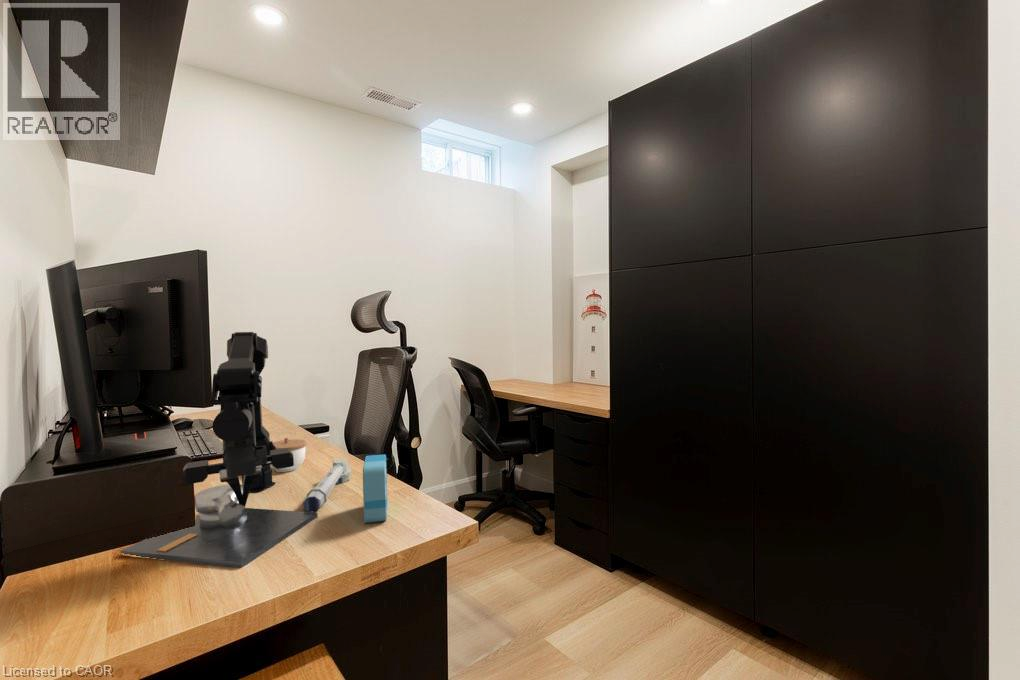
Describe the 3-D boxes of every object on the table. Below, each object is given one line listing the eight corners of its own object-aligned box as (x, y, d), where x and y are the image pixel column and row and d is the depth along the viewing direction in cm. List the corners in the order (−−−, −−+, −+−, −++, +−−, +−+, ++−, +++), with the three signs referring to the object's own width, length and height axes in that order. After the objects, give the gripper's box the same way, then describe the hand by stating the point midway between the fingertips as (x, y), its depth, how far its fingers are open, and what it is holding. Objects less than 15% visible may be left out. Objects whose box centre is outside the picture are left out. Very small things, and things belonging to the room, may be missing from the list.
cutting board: (120, 556, 87) (119, 534, 87) (217, 510, 109) (216, 493, 109) (241, 567, 82) (240, 545, 82) (317, 517, 103) (316, 499, 103)
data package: (386, 523, 100) (384, 467, 99) (364, 525, 99) (362, 469, 98) (387, 502, 111) (386, 452, 111) (367, 505, 110) (366, 454, 110)
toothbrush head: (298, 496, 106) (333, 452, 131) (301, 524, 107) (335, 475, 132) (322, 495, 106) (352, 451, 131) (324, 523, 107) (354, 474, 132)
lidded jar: (296, 474, 135) (295, 442, 134) (259, 475, 135) (258, 442, 135) (313, 463, 145) (312, 433, 145) (278, 464, 146) (277, 434, 145)
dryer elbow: (193, 508, 101) (192, 487, 101) (241, 498, 107) (240, 477, 106) (206, 535, 87) (205, 511, 87) (260, 522, 93) (259, 499, 93)
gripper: (177, 446, 81) (183, 534, 82) (295, 430, 91) (299, 509, 92) (182, 434, 91) (187, 513, 92) (288, 421, 101) (292, 492, 101)
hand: (242, 507), depth 94 cm, fingers closed
